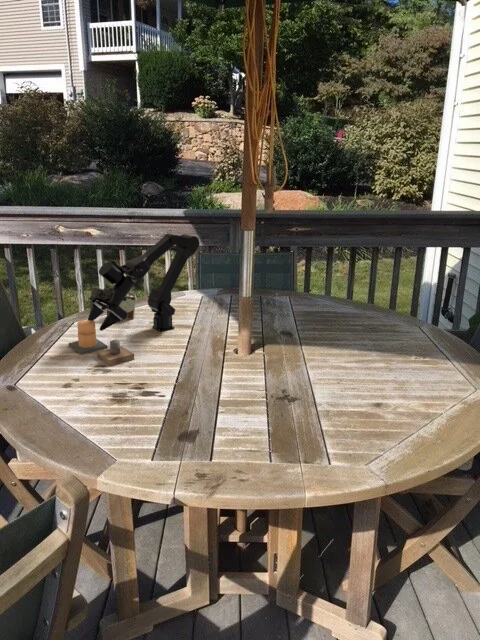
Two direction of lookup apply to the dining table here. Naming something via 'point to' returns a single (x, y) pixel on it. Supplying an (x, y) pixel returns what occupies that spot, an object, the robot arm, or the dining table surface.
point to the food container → (129, 305)
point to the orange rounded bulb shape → (86, 333)
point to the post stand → (115, 354)
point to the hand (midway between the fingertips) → (94, 326)
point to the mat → (82, 350)
